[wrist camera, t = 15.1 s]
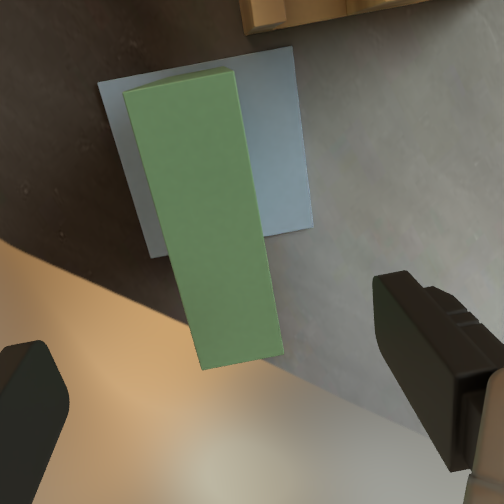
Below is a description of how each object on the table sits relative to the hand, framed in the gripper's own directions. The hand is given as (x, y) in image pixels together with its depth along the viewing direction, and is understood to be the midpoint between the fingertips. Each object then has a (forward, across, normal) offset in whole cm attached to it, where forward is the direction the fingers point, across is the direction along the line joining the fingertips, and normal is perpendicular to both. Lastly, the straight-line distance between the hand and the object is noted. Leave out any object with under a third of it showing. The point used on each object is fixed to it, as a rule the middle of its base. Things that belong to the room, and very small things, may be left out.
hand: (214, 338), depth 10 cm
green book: (+19, 0, 0) cm, 19 cm away
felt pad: (+20, 0, 0) cm, 20 cm away
